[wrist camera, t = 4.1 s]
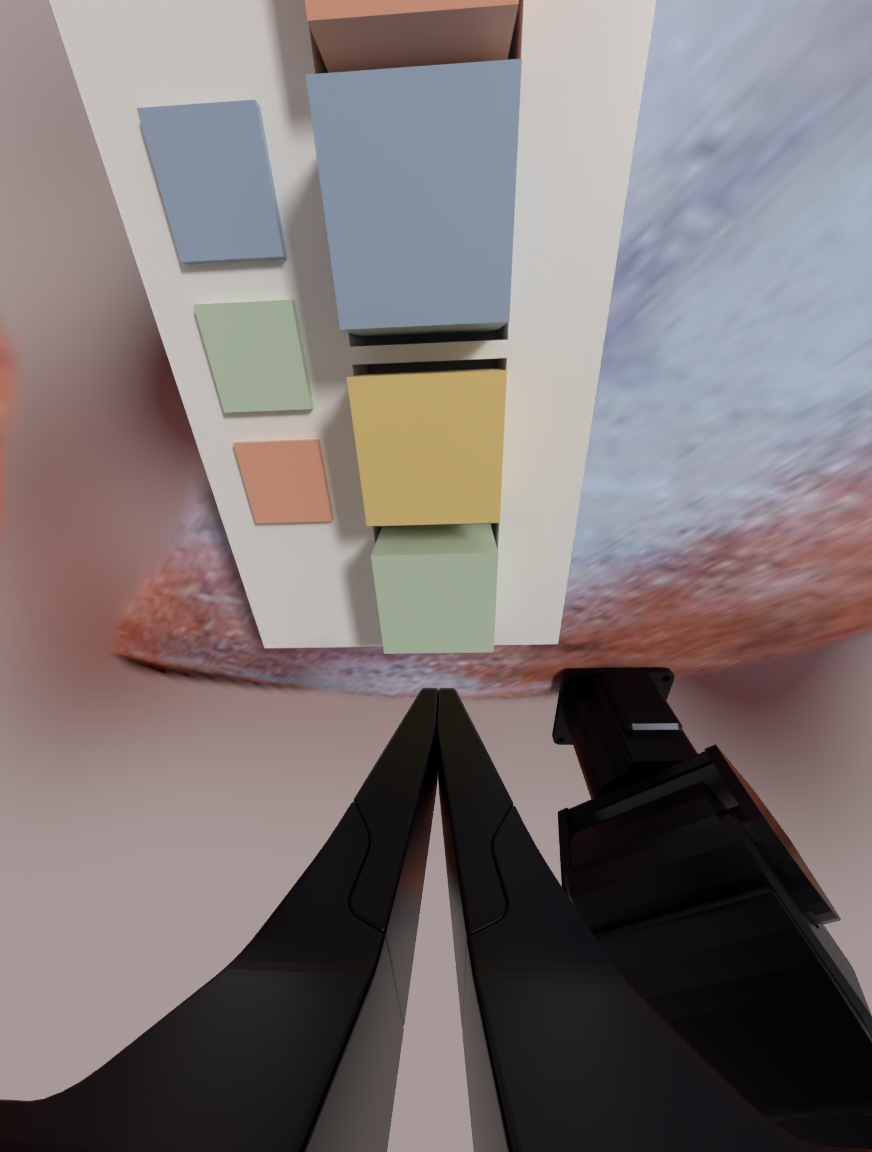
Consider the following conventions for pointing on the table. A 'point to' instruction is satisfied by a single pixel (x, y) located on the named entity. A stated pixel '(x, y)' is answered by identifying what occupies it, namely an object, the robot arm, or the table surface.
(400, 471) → the ochre key
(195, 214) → the keypad
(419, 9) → the terracotta key
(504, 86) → the slate key
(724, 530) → the table surface
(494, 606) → the sage key
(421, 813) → the robot arm
